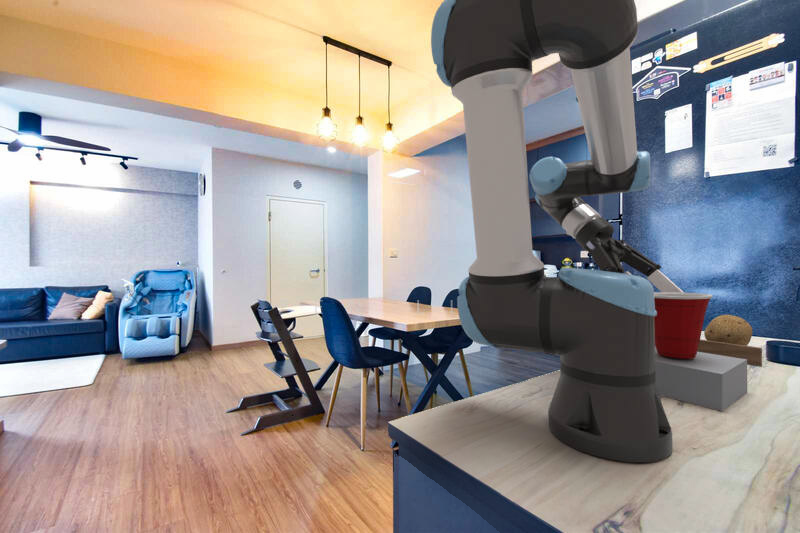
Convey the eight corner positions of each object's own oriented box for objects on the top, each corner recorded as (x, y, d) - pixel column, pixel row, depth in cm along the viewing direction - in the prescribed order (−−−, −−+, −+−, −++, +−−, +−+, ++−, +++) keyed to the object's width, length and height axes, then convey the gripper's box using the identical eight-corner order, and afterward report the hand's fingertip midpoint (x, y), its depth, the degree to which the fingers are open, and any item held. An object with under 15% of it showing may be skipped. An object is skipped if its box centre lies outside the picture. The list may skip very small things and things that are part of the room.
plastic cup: (634, 354, 68) (634, 290, 69) (648, 349, 75) (648, 291, 76) (709, 364, 60) (708, 292, 61) (717, 357, 68) (716, 293, 68)
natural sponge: (702, 353, 92) (702, 314, 92) (706, 347, 98) (706, 311, 98) (751, 360, 85) (751, 318, 85) (753, 353, 92) (753, 314, 91)
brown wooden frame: (731, 386, 69) (731, 349, 69) (643, 367, 81) (642, 336, 81) (762, 365, 82) (762, 334, 81) (681, 352, 94) (681, 325, 94)
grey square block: (722, 411, 58) (722, 374, 58) (627, 386, 69) (627, 355, 69) (747, 392, 66) (747, 359, 66) (658, 373, 77) (658, 345, 77)
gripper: (604, 241, 92) (673, 305, 80) (545, 239, 78) (618, 316, 66) (626, 218, 88) (703, 283, 76) (568, 212, 74) (651, 289, 62)
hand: (663, 299), depth 71 cm, fingers open, 13 cm apart
